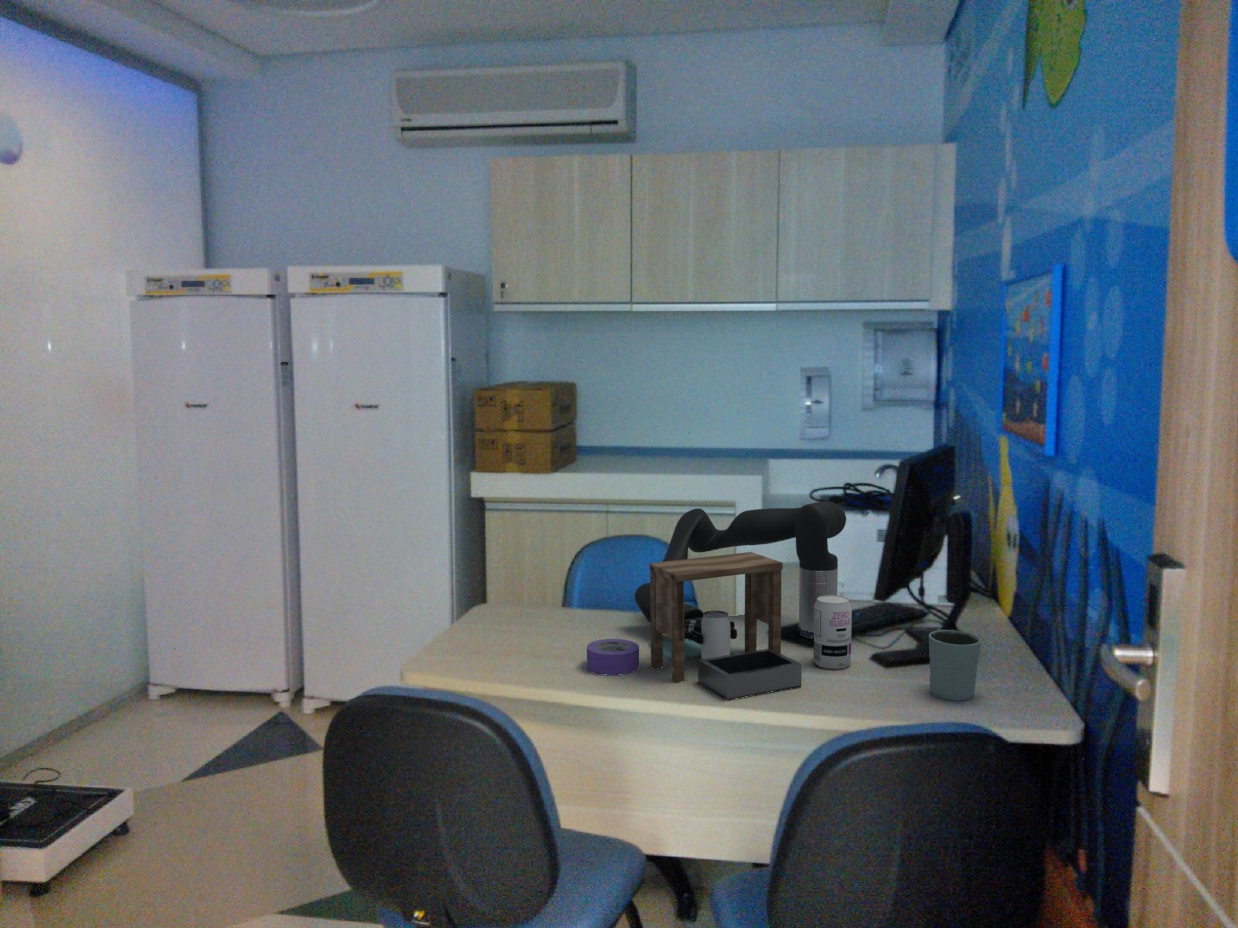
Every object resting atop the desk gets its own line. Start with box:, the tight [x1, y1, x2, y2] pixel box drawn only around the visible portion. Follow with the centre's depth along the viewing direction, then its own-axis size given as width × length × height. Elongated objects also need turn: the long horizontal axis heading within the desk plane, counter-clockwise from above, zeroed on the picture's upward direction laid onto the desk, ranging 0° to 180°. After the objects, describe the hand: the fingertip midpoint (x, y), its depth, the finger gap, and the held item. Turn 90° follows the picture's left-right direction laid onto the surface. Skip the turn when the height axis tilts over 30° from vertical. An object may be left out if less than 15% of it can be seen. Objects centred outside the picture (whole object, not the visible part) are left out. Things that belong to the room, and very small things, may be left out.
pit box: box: [697, 648, 803, 701], centre depth 207 cm, size 12×18×5 cm, turn 115°
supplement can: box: [813, 595, 853, 670], centre depth 219 cm, size 8×8×15 cm
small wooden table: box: [648, 551, 784, 684], centre depth 218 cm, size 13×26×24 cm, turn 115°
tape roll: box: [586, 638, 640, 676], centre depth 220 cm, size 12×12×5 cm
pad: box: [647, 639, 701, 661], centre depth 232 cm, size 12×14×1 cm
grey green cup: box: [928, 629, 982, 702], centre depth 200 cm, size 10×10×12 cm
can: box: [700, 610, 731, 660], centre depth 219 cm, size 6×6×12 cm
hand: (718, 637), depth 218 cm, fingers open, 8 cm apart
